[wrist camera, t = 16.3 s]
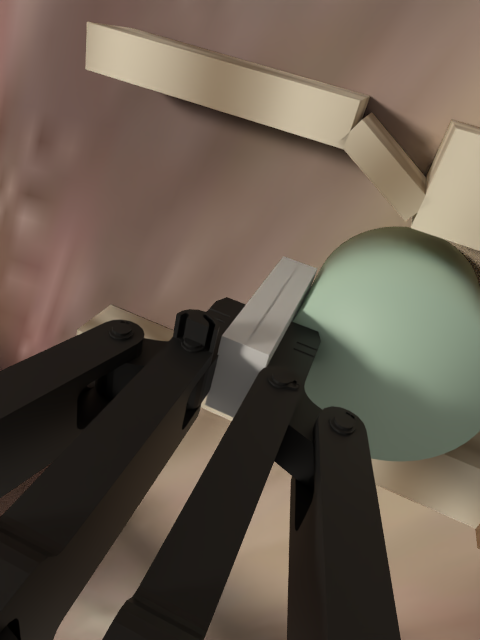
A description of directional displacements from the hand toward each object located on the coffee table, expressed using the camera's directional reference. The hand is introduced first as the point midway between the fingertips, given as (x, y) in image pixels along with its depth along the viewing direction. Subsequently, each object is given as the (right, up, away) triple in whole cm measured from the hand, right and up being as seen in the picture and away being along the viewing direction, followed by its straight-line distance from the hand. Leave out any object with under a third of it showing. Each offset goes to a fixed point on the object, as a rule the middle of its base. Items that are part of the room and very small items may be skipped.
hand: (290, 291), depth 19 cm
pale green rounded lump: (+5, 0, +2) cm, 5 cm away
